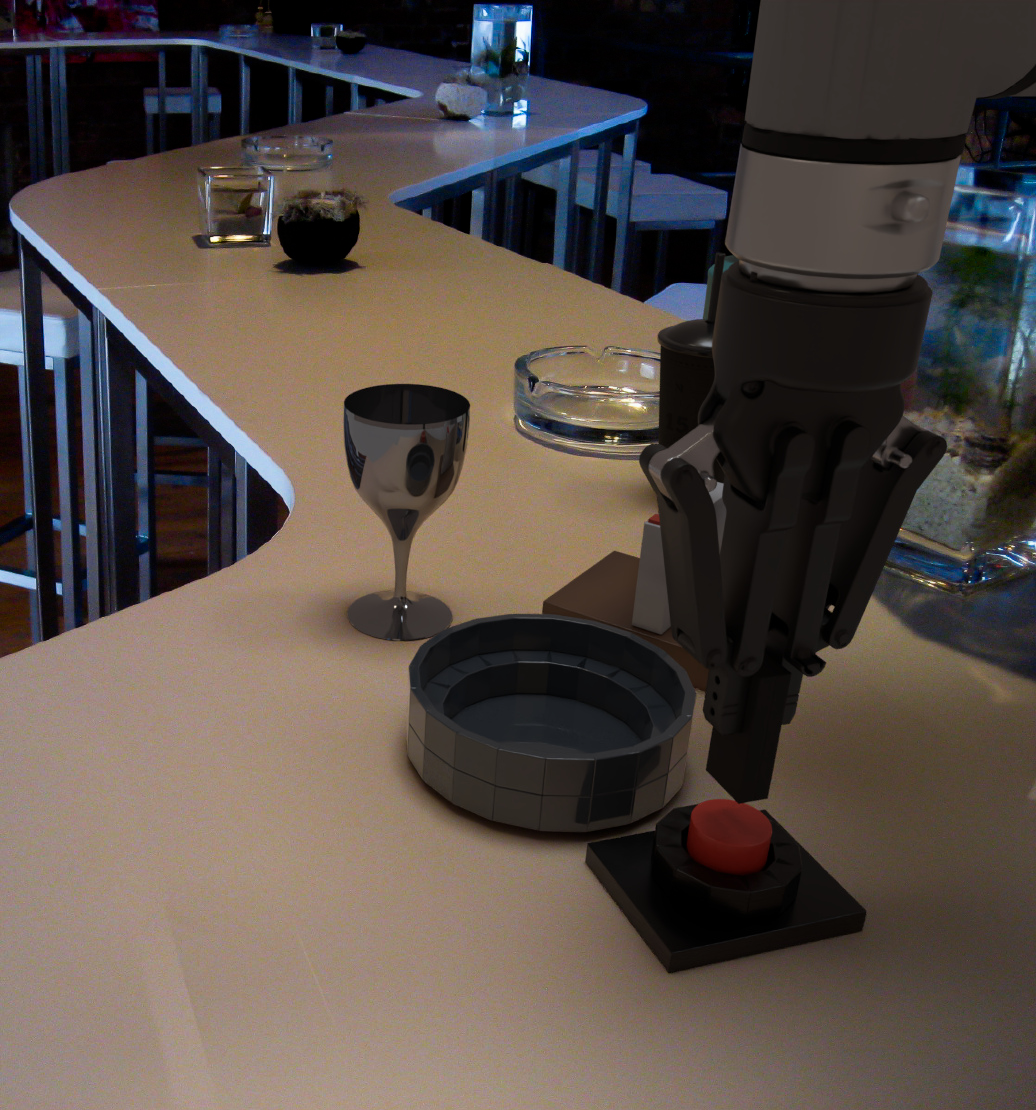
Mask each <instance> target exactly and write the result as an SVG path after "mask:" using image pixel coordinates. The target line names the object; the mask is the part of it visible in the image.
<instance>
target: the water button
mask: <svg viewBox="0 0 1036 1110" xmlns="http://www.w3.org/2000/svg"><path fill="white" fill-rule="evenodd" d="M697 804H698V805H697V806H696V807H695V808H694V809H693V811H692V813H691V819H690V825H689V832H688V838H687V850H688V853H689V854H690V856H691V857H692V859H693V860H694V861H696V862H698V863H701V864H703V865H705V866H707V867H709V868H711V869H713V870H715V871H717V872H724V873H730V874H737V875H745V874H750V873H755V872H759V871H760V870H762V869H763V867H764V866H765V864H766V861H767V856H768V851H769V846H770V841H771V835H772V826H771V823H770V821H769V820H768V818H767V817H766V816H765V815H764V814H763V813H762V812H760V811H759V809H757V808H756V807H754V806H752V805H750V804H749V803H748V804H747V803H741V804H738V803H737V802H736V801H735V800H734V799H727V798H713V799H708V800H705V801H702V802H700V803H697Z"/></svg>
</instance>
